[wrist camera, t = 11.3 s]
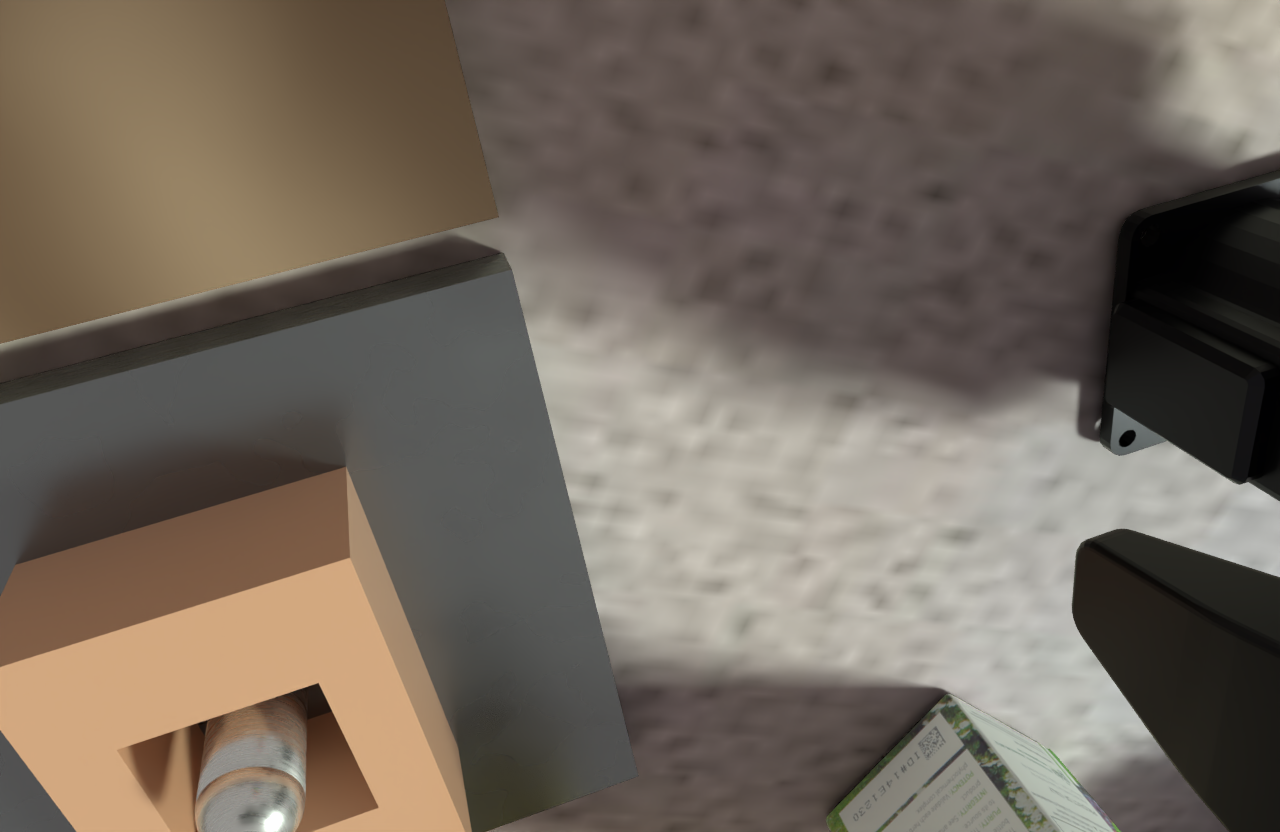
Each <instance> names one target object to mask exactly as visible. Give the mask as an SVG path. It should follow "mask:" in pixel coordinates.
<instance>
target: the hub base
mask: <svg viewBox="0 0 1280 832" xmlns="http://www.w3.org/2000/svg"><path fill="white" fill-rule="evenodd" d="M343 467H347V470H348V472H349V475H350V477H351V480H352V483H353V485H354V488H355V490H356V493H357V495H358V498H359V500H360V503H361V505H362V508H363V510H364V513H365V515H366V518H367V520H368V523H369V525H370V528H371V530H372V533H373V535H374V538H375V540H376V543H377V545H378V548H379V550H380V553H381V555H382V558H383V560H384V563H385V565H386V568H387V570H388V573H389V575H390V578H391V580H392V583H393V585H394V588H395V591H396V593H397V596H398V598H399V601H400V603H401V606H402V608H403V611H404V613H405V616H406V618H407V621H408V623H409V626H410V628H411V631H412V633H413V636H414V638H415V641H416V643H417V646H418V648H419V651H420V653H421V656H422V658H423V661H424V663H425V666H426V668H427V671H428V673H429V676H430V678H431V681H432V683H433V686H434V688H435V691H436V693H437V696H438V699H439V701H440V704H441V706H442V709H443V711H444V714H445V716H446V719H447V721H448V724H449V726H450V729H451V731H452V734H453V736H454V739H455V741H456V744H457V746H458V750H459V756H460V762H461V768H462V775H463V781H464V787H465V793H466V799H467V806H468V812H469V818H470V824H471V830H472V832H486V831H489V830H491V829H494V828H497V827H500V826H502V825H505V824H508V823H511V822H513V821H516V820H519V819H522V818H524V817H527V816H530V815H533V814H536V813H538V812H541V811H544V810H547V809H549V808H552V807H555V806H558V805H560V804H563V803H566V802H569V801H571V800H574V799H577V798H580V797H582V796H585V795H588V794H591V793H593V792H596V791H599V790H602V789H605V788H607V787H610V786H613V785H616V784H618V783H621V782H624V781H627V780H629V779H632V778H635V777H638V772H637V768H636V764H635V760H634V756H633V752H632V748H631V744H630V740H629V736H628V732H627V728H626V724H625V720H624V716H623V712H622V708H621V704H620V700H619V696H618V692H617V688H616V684H615V680H614V676H613V672H612V668H611V664H610V660H609V656H608V652H607V648H606V644H605V640H604V636H603V632H602V628H601V624H600V620H599V616H598V612H597V608H596V604H595V600H594V596H593V592H592V588H591V584H590V580H589V576H588V572H587V568H586V564H585V560H584V556H583V552H582V548H581V544H580V540H579V536H578V532H577V528H576V524H575V520H574V516H573V512H572V508H571V504H570V500H569V496H568V492H567V488H566V484H565V480H564V476H563V472H562V468H561V464H560V460H559V456H558V452H557V448H556V444H555V440H554V436H553V432H552V428H551V424H550V420H549V416H548V412H547V408H546V404H545V400H544V396H543V392H542V388H541V384H540V380H539V376H538V372H537V368H536V364H535V360H534V356H533V352H532V348H531V344H530V340H529V336H528V332H527V328H526V324H525V320H524V316H523V312H522V308H521V304H520V300H519V296H518V292H517V288H516V284H515V280H514V276H513V272H512V269H511V267H510V265H509V263H508V261H507V259H506V257H505V256H504V254H503V253H500V254H496V255H492V256H488V257H484V258H481V259H477V260H473V261H469V262H465V263H461V264H457V265H454V266H450V267H446V268H442V269H438V270H434V271H431V272H427V273H423V274H419V275H415V276H411V277H408V278H404V279H400V280H396V281H392V282H388V283H385V284H381V285H377V286H373V287H369V288H365V289H361V290H358V291H354V292H350V293H346V294H342V295H338V296H335V297H331V298H327V299H323V300H319V301H315V302H312V303H308V304H304V305H300V306H296V307H292V308H289V309H285V310H281V311H277V312H273V313H269V314H266V315H262V316H258V317H254V318H250V319H246V320H242V321H239V322H235V323H231V324H227V325H223V326H219V327H216V328H212V329H208V330H204V331H200V332H196V333H193V334H189V335H185V336H181V337H177V338H173V339H170V340H166V341H162V342H158V343H154V344H150V345H146V346H143V347H139V348H135V349H131V350H127V351H123V352H120V353H116V354H112V355H108V356H104V357H100V358H97V359H93V360H89V361H85V362H81V363H77V364H74V365H70V366H66V367H62V368H58V369H54V370H51V371H47V372H43V373H39V374H35V375H31V376H27V377H24V378H20V379H16V380H12V381H8V382H4V383H1V384H0V596H1V594H2V592H3V590H4V588H5V585H6V583H7V581H8V579H9V577H10V575H11V573H12V571H13V568H14V566H15V565H17V564H20V563H23V562H27V561H30V560H34V559H37V558H40V557H44V556H47V555H50V554H54V553H57V552H61V551H64V550H67V549H71V548H74V547H77V546H81V545H84V544H87V543H91V542H94V541H98V540H101V539H104V538H108V537H111V536H114V535H118V534H121V533H125V532H128V531H131V530H135V529H138V528H141V527H145V526H148V525H151V524H155V523H158V522H162V521H165V520H168V519H172V518H175V517H178V516H182V515H185V514H189V513H192V512H195V511H199V510H202V509H205V508H209V507H212V506H215V505H219V504H222V503H226V502H229V501H232V500H236V499H239V498H242V497H246V496H249V495H253V494H256V493H259V492H263V491H266V490H269V489H273V488H276V487H279V486H283V485H286V484H290V483H293V482H296V481H300V480H303V479H306V478H310V477H313V476H317V475H320V474H323V473H327V472H330V471H333V470H337V469H340V468H343ZM329 712H332V710H331V708H330V705H329V703H328V701H327V699H326V697H325V695H324V693H323V691H322V689H321V687H320V685H319V683H317V684H314V685H311V686H308V687H305V688H302V689H299V690H296V691H293V692H290V693H287V694H284V695H281V696H278V697H275V698H272V699H269V700H266V701H263V702H260V703H257V704H254V705H251V706H247V707H244V708H241V709H238V710H235V711H232V712H229V713H226V714H223V715H220V716H217V717H214V718H211V719H208V720H205V721H202V722H199V723H197V724H198V726H199V727H200V729H201V731H202V732H203V734H204V736H205V741H204V748H203V755H202V762H201V769H200V776H199V783H198V790H197V797H196V805H195V823H196V827H197V830H198V832H295V831H296V829H297V828H298V826H299V824H300V822H301V819H302V817H303V813H304V809H305V801H306V750H307V720H308V719H311V718H314V717H317V716H320V715H323V714H326V713H329ZM0 832H76V830H75V829H74V828H73V826H72V825H71V824H70V822H69V821H68V820H67V818H66V817H65V816H64V814H63V813H62V812H61V810H60V809H59V808H58V806H57V805H56V804H55V802H54V801H53V800H52V798H51V797H50V796H49V794H48V793H47V792H46V790H45V789H44V788H43V786H42V785H41V784H40V782H39V781H38V780H37V778H36V777H35V776H34V774H33V773H32V772H31V770H30V769H29V768H28V766H27V765H26V764H25V762H24V761H23V760H22V758H21V757H20V756H19V754H18V753H17V752H16V750H15V749H14V748H13V746H12V745H11V744H10V742H9V741H8V740H7V738H6V737H5V736H4V734H3V733H2V732H1V730H0Z"/></svg>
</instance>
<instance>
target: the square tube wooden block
mask: <svg viewBox="0 0 1280 832" xmlns="http://www.w3.org/2000/svg"><path fill="white" fill-rule="evenodd" d="M317 683H319V685H320V687H321V689H322V691H323V693H324V695H325V697H326V699H327V701H328V703H329V705H330V708H331V710H332V712H329V713H326V714H323V715H320V716H317V717H314V718H311V719H308V720H307V750H306V801H305V809H304V813H303V817H302V819H301V822H300V824H299V826H298V828H297V829H296V831H295V832H472V830H471V824H470V818H469V812H468V806H467V799H466V793H465V787H464V781H463V775H462V768H461V762H460V756H459V750H458V746H457V744H456V741H455V739H454V736H453V734H452V731H451V729H450V726H449V724H448V721H447V719H446V716H445V714H444V711H443V709H442V706H441V704H440V701H439V699H438V696H437V693H436V691H435V688H434V686H433V683H432V681H431V678H430V676H429V673H428V671H427V668H426V666H425V663H424V661H423V658H422V656H421V653H420V651H419V648H418V646H417V643H416V641H415V638H414V636H413V633H412V631H411V628H410V626H409V623H408V621H407V618H406V616H405V613H404V611H403V608H402V606H401V603H400V601H399V598H398V596H397V593H396V591H395V588H394V585H393V583H392V580H391V578H390V575H389V573H388V570H387V568H386V565H385V563H384V560H383V558H382V555H381V553H380V550H379V548H378V545H377V543H376V540H375V538H374V535H373V533H372V530H371V528H370V525H369V523H368V520H367V518H366V515H365V513H364V510H363V508H362V505H361V503H360V500H359V498H358V495H357V493H356V490H355V488H354V485H353V483H352V480H351V477H350V475H349V472H348V470H347V467H343V468H340V469H337V470H333V471H330V472H327V473H323V474H320V475H317V476H313V477H310V478H306V479H303V480H300V481H296V482H293V483H290V484H286V485H283V486H279V487H276V488H273V489H269V490H266V491H263V492H259V493H256V494H253V495H249V496H246V497H242V498H239V499H236V500H232V501H229V502H226V503H222V504H219V505H215V506H212V507H209V508H205V509H202V510H199V511H195V512H192V513H189V514H185V515H182V516H178V517H175V518H172V519H168V520H165V521H162V522H158V523H155V524H151V525H148V526H145V527H141V528H138V529H135V530H131V531H128V532H125V533H121V534H118V535H114V536H111V537H108V538H104V539H101V540H98V541H94V542H91V543H87V544H84V545H81V546H77V547H74V548H71V549H67V550H64V551H61V552H57V553H54V554H50V555H47V556H44V557H40V558H37V559H34V560H30V561H27V562H23V563H20V564H17V565H15V566H14V568H13V571H12V573H11V575H10V577H9V579H8V581H7V583H6V585H5V588H4V590H3V592H2V594H1V596H0V730H1V732H2V733H3V734H4V736H5V737H6V738H7V740H8V741H9V742H10V744H11V745H12V746H13V748H14V749H15V750H16V752H17V753H18V754H19V756H20V757H21V758H22V760H23V761H24V762H25V764H26V765H27V766H28V768H29V769H30V770H31V772H32V773H33V774H34V776H35V777H36V778H37V780H38V781H39V782H40V784H41V785H42V786H43V788H44V789H45V790H46V792H47V793H48V794H49V796H50V797H51V798H52V800H53V801H54V802H55V804H56V805H57V806H58V808H59V809H60V810H61V812H62V813H63V814H64V816H65V817H66V818H67V820H68V821H69V822H70V824H71V825H72V826H73V828H74V829H75V830H76V832H198V830H197V827H196V823H195V805H196V797H197V790H198V783H199V776H200V769H201V762H202V755H203V748H204V741H205V736H204V734H203V732H202V731H201V729H200V727H199V726H198V724H197V723H199V722H202V721H205V720H208V719H211V718H214V717H217V716H220V715H223V714H226V713H229V712H232V711H235V710H238V709H241V708H244V707H247V706H251V705H254V704H257V703H260V702H263V701H266V700H269V699H272V698H275V697H278V696H281V695H284V694H287V693H290V692H293V691H296V690H299V689H302V688H305V687H308V686H311V685H314V684H317Z"/></svg>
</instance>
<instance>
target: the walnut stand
mask: <svg viewBox="0 0 1280 832" xmlns="http://www.w3.org/2000/svg"><path fill="white" fill-rule="evenodd" d="M497 217H499V216H498V212H497V208H496V204H495V200H494V196H493V192H492V188H491V184H490V180H489V176H488V172H487V168H486V164H485V160H484V156H483V152H482V148H481V144H480V140H479V136H478V132H477V128H476V124H475V120H474V116H473V112H472V108H471V104H470V100H469V96H468V92H467V88H466V84H465V80H464V76H463V72H462V68H461V64H460V60H459V56H458V52H457V48H456V44H455V40H454V36H453V32H452V28H451V24H450V20H449V16H448V12H447V8H446V4H445V0H0V344H1V343H5V342H9V341H13V340H16V339H20V338H24V337H28V336H32V335H36V334H40V333H44V332H48V331H52V330H56V329H60V328H64V327H68V326H72V325H76V324H79V323H83V322H87V321H91V320H95V319H99V318H103V317H107V316H111V315H115V314H119V313H123V312H127V311H131V310H135V309H139V308H143V307H146V306H150V305H154V304H158V303H162V302H166V301H170V300H174V299H178V298H182V297H186V296H190V295H194V294H198V293H202V292H206V291H209V290H213V289H217V288H221V287H225V286H229V285H233V284H237V283H241V282H245V281H249V280H253V279H257V278H261V277H265V276H269V275H272V274H276V273H280V272H284V271H288V270H292V269H296V268H300V267H304V266H308V265H312V264H316V263H320V262H324V261H328V260H332V259H335V258H339V257H343V256H347V255H351V254H355V253H359V252H363V251H367V250H371V249H375V248H379V247H383V246H387V245H391V244H395V243H398V242H402V241H406V240H410V239H414V238H418V237H422V236H426V235H430V234H434V233H438V232H442V231H446V230H450V229H454V228H458V227H461V226H465V225H469V224H473V223H477V222H481V221H485V220H489V219H493V218H497Z"/></svg>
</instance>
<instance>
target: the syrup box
mask: <svg viewBox="0 0 1280 832" xmlns="http://www.w3.org/2000/svg"><path fill="white" fill-rule="evenodd" d="M826 823H827V826H828V828H829V830H830V832H1121V831H1120V830H1119V829H1118V828H1117V827H1116V825H1115V824H1114V823H1113V822H1112V821H1111V819H1110V818H1109V817H1108V816H1107V815H1106V814H1105V812H1104V811H1103V810H1102V809H1101V808H1100V807H1099V805H1098V804H1097V803H1096V802H1095V801H1094V799H1093V798H1092V797H1091V796H1090V795H1089V794H1088V792H1087V791H1086V790H1085V789H1084V788H1083V787H1082V785H1081V784H1080V783H1079V782H1078V781H1077V780H1076V778H1075V777H1074V776H1073V775H1072V774H1071V772H1070V771H1069V770H1068V769H1067V768H1066V767H1065V765H1064V764H1063V763H1062V762H1061V761H1060V759H1059V758H1058V757H1057V756H1056V755H1055V754H1054V753H1053V752H1052V751H1051V750H1050V749H1047V748H1046V747H1044V746H1043V745H1041V744H1039V743H1037V742H1035V741H1033V740H1032V739H1030V738H1028V737H1026V736H1025V735H1023V734H1021V733H1019V732H1017V731H1016V730H1014V729H1012V728H1010V727H1009V726H1007V725H1005V724H1004V723H1002V722H1000V721H998V720H996V719H994V718H993V717H991V716H989V715H988V714H986V713H984V712H982V711H980V710H978V709H976V708H975V707H973V706H971V705H969V704H967V703H966V702H964V701H962V700H960V699H959V698H957V697H955V696H953V695H951V694H947V695H945V696H944V697H943V698H942V699H941V700H940V701H939V702H938V703H937V704H936V705H935V706H934V707H933V708H932V709H931V710H930V711H929V712H928V713H927V714H926V715H925V716H924V717H923V718H922V719H921V720H920V721H919V722H918V723H917V724H916V725H915V727H914V728H913V729H912V730H911V731H910V732H909V733H908V734H907V735H906V736H905V737H904V738H903V739H902V740H901V741H900V742H899V743H898V744H897V745H896V746H895V747H894V748H893V749H892V750H891V751H890V752H889V753H888V754H887V755H886V756H885V757H884V758H883V759H882V760H881V761H880V762H879V763H878V764H877V765H876V766H875V767H874V768H873V769H872V770H871V772H870V773H869V774H868V775H867V776H866V777H865V778H864V779H863V780H862V781H861V782H860V783H859V784H858V785H857V786H856V787H855V788H854V789H853V790H852V791H851V792H850V793H849V794H848V795H847V796H846V797H845V798H844V799H843V800H842V801H841V802H840V803H839V804H838V805H837V806H836V807H835V808H834V810H833V811H832V812H831V813H830V814H829V815H828V816H827V818H826Z"/></svg>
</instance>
